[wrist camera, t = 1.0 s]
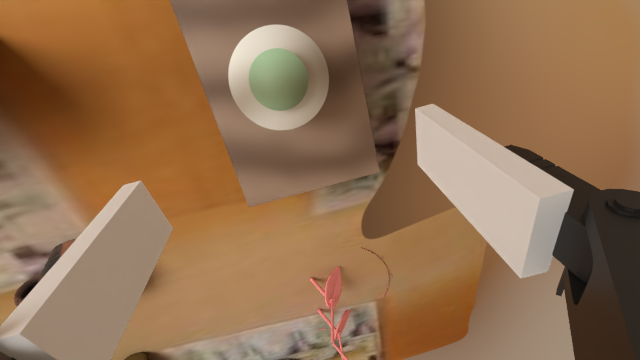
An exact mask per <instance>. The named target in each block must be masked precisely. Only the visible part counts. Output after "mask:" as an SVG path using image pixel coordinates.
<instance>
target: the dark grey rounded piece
mask: <svg viewBox="0 0 640 360" xmlns="http://www.w3.org/2000/svg"><path fill="white" fill-rule="evenodd" d="M125 360H148V358H147V354H145V353H143V352H139V353H135V354H132V355H130V356H129V357H127V358H126V359H125Z"/></svg>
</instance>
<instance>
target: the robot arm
mask: <svg viewBox="0 0 640 360" xmlns="http://www.w3.org/2000/svg"><path fill="white" fill-rule="evenodd" d="M415 115H416V138H417V162H418V165H419V166H420V168H421V169H422V170H423V171H424V172H425V173H426V174H427V175H428V176H429V177H430V179H431V180H432V181H433V182H434V183H435V184H436V185H437V186H438V188H439V189H440V190H441V191H442V192H443V193H444V194H445V195H446V196H447V197H448V199H449V200H450V201H451V202H452V203H453V204H454V205H455V206H456V207H457V209H458V210H459V211H460V212H461V213H462V214H463V215H464V216H465V217H466V219H467V220H468V221H469V222H470V223H471V224H472V225H473V226H474V227H475V229H476V230H477V231H478V232H479V233H480V234H481V235H482V236H483V237H484V239H485V240H486V241H487V242H488V243H489V244H490V245H491V246H492V247H493V248H494V250H495V251H496V252H497V253H498V254H499V255H500V256H501V257H502V258H503V260H505V262H506V263H507V264H508V265H509V266H510V267H511V268H512V270H514V272H515V273H516V274H517V275H518V276H519V277H520V278H524V277H528V276H532V275H536V274H540V273H544V272H547V271H548V270H549V267H550V264H551V261H552V258H553V256H554V257H555V258H556V259H557V260H559V261H560V262H561V263H562V264H563V265H564V266H565V268H564V271H563V273H562V276H561V279H560V282H559V285H558V288H557V292H556V295H559V296H561V295H562V293H563V290H565V297H566V303H567V310H568V317H569V323H570V329H571V336H572V342H573V349H574V355H575V360H640V192H637V191H631V190H625V189H606V190H600V189H598V188H596V187H594V186H593V185H591V184H589V183H587V182H585V181H584V180H582V179H580V178H578V177H576V176H575V175H573V174H571V173H569V172H567V171H566V170H564V169H562V168H560V167H559V166H555V164H553V163H552V162H550V161H548V160H546V159H545V160H543V157H541V156H539V155H537V154H536V153H534V152H532V151H530V150H528V149H524V148H520V147H517V146H513V145H510V146H505V147H503V146H502V145H500V144H498V143H497V142H495V141H493V140H492V139H490V138H488V137H487V136H485V135H483V134H482V133H480V132H479V131H477V130H475V129H474V128H472V127H470V126H469V125H467V124H465V123H464V122H462V121H461V120H459V119H457V118H456V117H454V116H452V115H451V114H449V113H447V112H446V111H444V110H442V109H441V108H439V107H438V106H436V105H434V104H430V105H426V106H423V107H418V108H415ZM172 230H173V227H172V226H171V224H170V223H169V221H168V220H167V218H166V217H165V215H164V214H163V212H162V211H161V209H160V208H159V206H158V205H157V204H156V202H155V201H154V199H153V198H152V196H151V195H150V193H149V192H148V190H147V189H146V187H145V186H144V184H143V183H142V181H137V182H133V183H130V184H126V185H123V186H122V187H121V189H120V190H119V191H118V192H117V193H116V194H115V195H114V197H113V198H112V199H111V200H110V201H109V202H108V203H107V205H106V206H105V207H104V208H103V209H102V210H101V211H100V213H99V214H98V215H97V216H96V217H95V218H94V220H93V221H92V222H91V223H90V224H89V225H88V226H87V228H86V229H85V230H84V231H83V232H82V233H81V234H80V236H79V237H78V238H77V239H76V240H75V241H74V242H73V244H72V245H71V246H70V247H69V248H68V249H67V250H66V252H65V253H64V254H63V255H62V256H61V257H60V259H59V260H58V261H57V262H56V263H55V264H54V265H53V267H52V268H51V269H50V270H49V271H48V272H47V273H46V275H45V276H44V277H43V278H42V279H41V280H40V281H39V283H38V284H37V285H36V286H35V287H34V288H33V289H32V291H31V292H30V293H29V294H28V295H27V296H26V298H25V299H24V300H23V301H22V302H21V303H20V304H19V306H18V307H17V308H16V309H15V310H14V311H13V312H12V314H11V315H10V316H9V317H8V318H7V319H6V320H5V322H4V323H3V324H2V325H1V326H0V360H111V359H112V357H113V354H114V352H115V350H116V348H117V346H118V344H119V342H120V340H121V338H122V335H123V333H124V331H125V329H126V327H127V325H128V323H129V321H130V319H131V316H132V314H133V312H134V310H135V308H136V306H137V304H138V302H139V300H140V297H141V295H142V293H143V291H144V289H145V287H146V285H147V283H148V281H149V278H150V276H151V274H152V272H153V270H154V268H155V266H156V264H157V262H158V259H159V257H160V255H161V253H162V251H163V249H164V247H165V245H166V243H167V240H168V238H169V236H170V234H171V232H172Z"/></svg>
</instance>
